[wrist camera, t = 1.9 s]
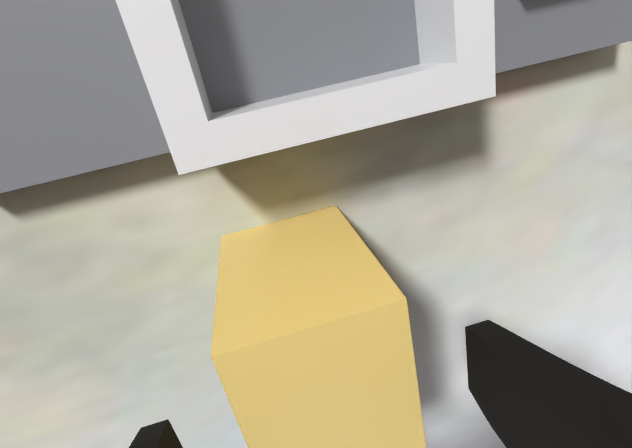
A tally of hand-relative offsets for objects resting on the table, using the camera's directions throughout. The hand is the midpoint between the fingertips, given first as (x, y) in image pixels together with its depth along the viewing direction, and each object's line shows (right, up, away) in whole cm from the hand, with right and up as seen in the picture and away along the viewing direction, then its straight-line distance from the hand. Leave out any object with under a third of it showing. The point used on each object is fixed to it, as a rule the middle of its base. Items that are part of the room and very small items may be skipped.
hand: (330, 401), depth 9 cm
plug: (-1, +2, +5) cm, 6 cm away
